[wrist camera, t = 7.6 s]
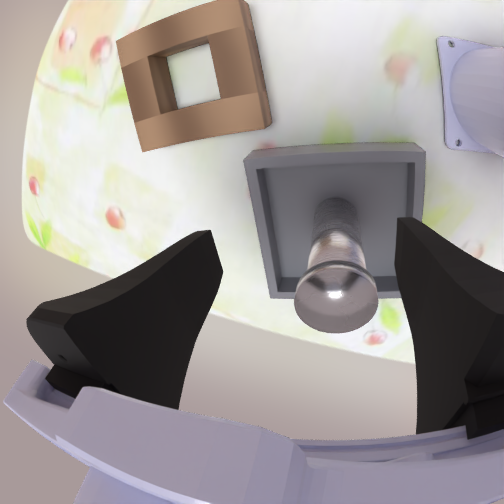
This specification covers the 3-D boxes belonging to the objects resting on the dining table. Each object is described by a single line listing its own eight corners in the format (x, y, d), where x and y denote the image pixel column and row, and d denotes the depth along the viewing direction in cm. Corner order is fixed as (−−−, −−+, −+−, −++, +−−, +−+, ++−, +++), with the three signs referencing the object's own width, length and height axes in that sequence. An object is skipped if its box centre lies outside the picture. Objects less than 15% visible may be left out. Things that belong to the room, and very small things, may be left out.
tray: (414, 142, 16) (425, 151, 14) (404, 277, 22) (409, 297, 20) (252, 150, 20) (243, 159, 18) (275, 279, 25) (270, 298, 23)
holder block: (248, 4, 13) (237, -6, 11) (272, 123, 18) (264, 128, 16) (136, 41, 16) (115, 40, 14) (159, 143, 21) (142, 152, 19)
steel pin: (357, 187, 18) (374, 264, 11) (366, 236, 20) (380, 328, 13) (302, 198, 20) (284, 278, 13) (315, 245, 22) (304, 336, 15)
